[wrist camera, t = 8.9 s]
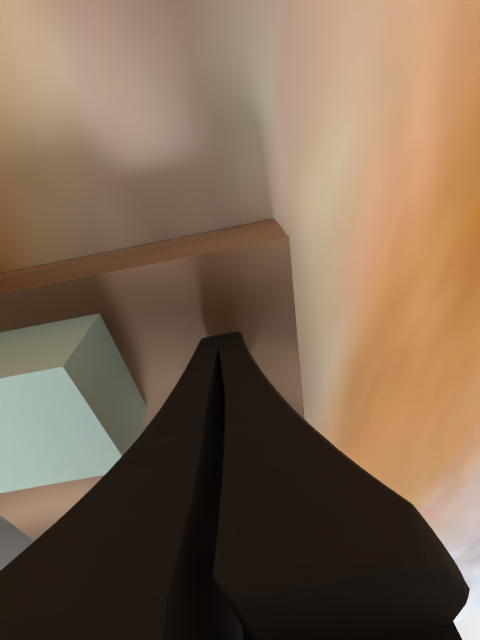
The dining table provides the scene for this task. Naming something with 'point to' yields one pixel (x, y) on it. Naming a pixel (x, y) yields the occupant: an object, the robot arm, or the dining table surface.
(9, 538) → the tray
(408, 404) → the dining table surface
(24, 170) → the dining table surface
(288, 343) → the board
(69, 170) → the dining table surface
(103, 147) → the dining table surface
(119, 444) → the grey-green block
